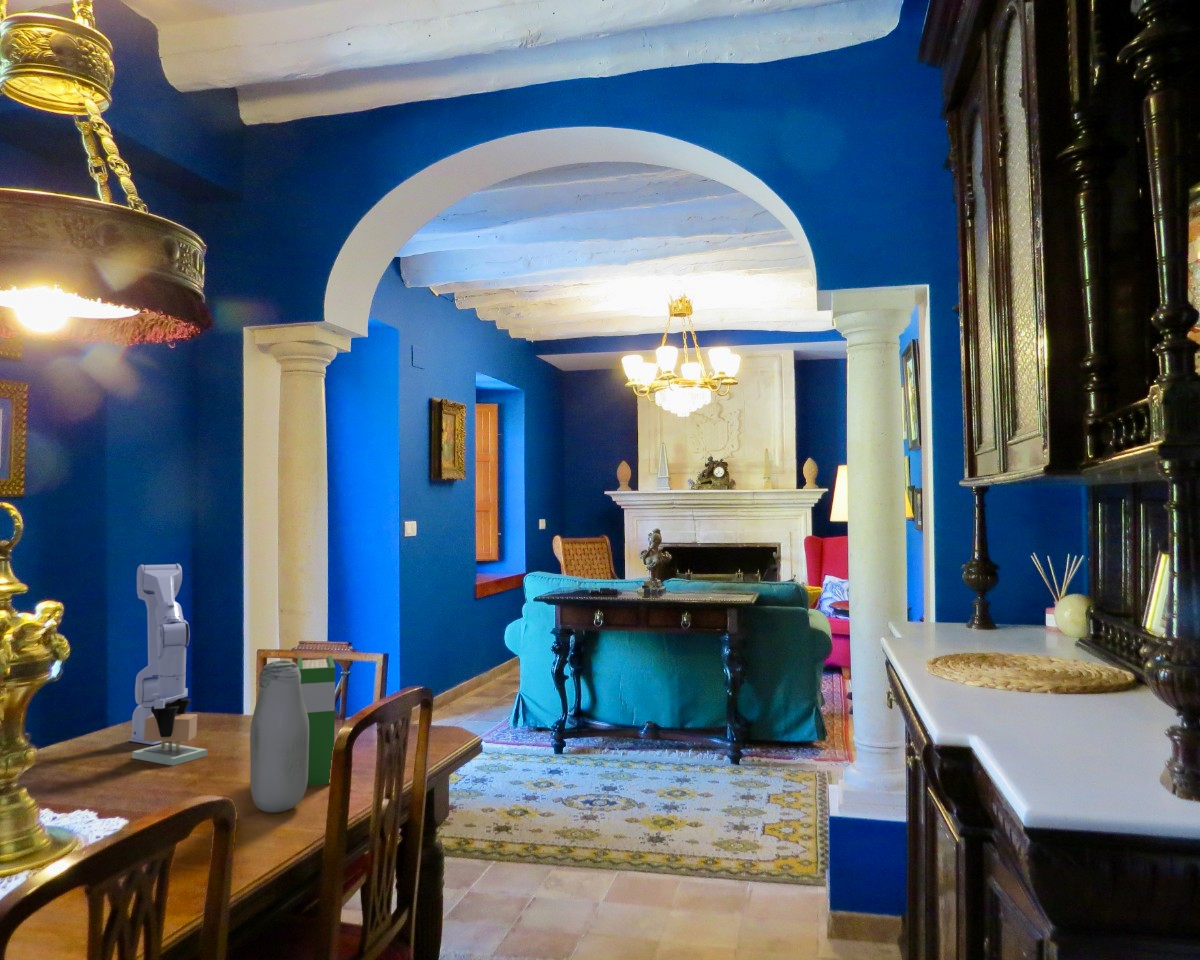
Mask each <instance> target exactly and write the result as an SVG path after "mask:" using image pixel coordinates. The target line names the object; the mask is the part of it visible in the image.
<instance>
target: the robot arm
mask: <svg viewBox="0 0 1200 960" xmlns="http://www.w3.org/2000/svg"><path fill="white" fill-rule="evenodd" d="M182 581H183V569H182V566H181V564H180V563H174V564H169V563H168V564H145V565H144V564H140V565H139V566H138V567H137V569H136V594H137V598H138V599H139V600H142V601H144V602H145V606H146V611H147V614H146V615H147V619H146V620H147V666H144V668H143V669H141V670H140V671H139V672H138V673H137V674H136V678H135V685H134V686H135V687H134V698H135V703H136V704H137V706H136V707H135V709H134V711H133V713H132V718H131V719H132V720H131V722H132V723H131V724H132V725H131V738H128V741H129V742H133V743H140V744H143V745H144V744H145V745H151V746H152V745H153V746H156V745H160V744H161V741H144V734H145V719H146V718H148V717H149V716H151V715H154V716H155V718H156V721H157V724H158V728H159V732H160V736H161V737H170V736H171V735H172V731H173V724H174V719H175V715H176V714H186V711H187V709H188V707H189V705H190V704H191V702H192V698H186V697H188V693H189V691H188V689H189V688H188V687H186V677H187V676H186V675H187V674H186V672H187V670H186V669H187V667H186V666H187V665H186V664H187V647H189V644H190V637H191V636H190V635H191V633H190V632H191V631H190V625H189V622H188V621H187V620H186V619H184V615H183V609H182V606H181V605H180V603H179V602H177V601H176V599H175V598H176V597H177V595H178V594H179V591H180V589H181V586H182ZM165 743H168V741H165Z"/></svg>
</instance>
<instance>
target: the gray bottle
mask: <svg viewBox="0 0 1200 960" xmlns="http://www.w3.org/2000/svg"><path fill="white" fill-rule="evenodd" d="M249 751H250V753H249V754H250V767H249V768H250V770H249V771H250V776H249V777H250V781H249V783H250V784H249V785H250V793H251V796H252V799H253V803H254V804H255V806H256V807H257V808H258V809H259V810H261V811H262V812H265V813H267V814H268V813H271V814H272V813H274V814H275V813H282V812H286V811H288V810H291V809H294V808H295V807H296V806H298V805H299V803H300V802H301V801H302V800H303V798H304V797H305V793H306V792H307V787H308V786H307V782H308V757H309V719H308V714H307V710H306V707H305V704H304V700H303V694H302V689H301V673H300V670H299V667H298V663H295V662H293V661H292V660H291V661H290V660H275V661H271V662H269V663H267V664H266V665H264V667H262V669H261V670H260V673H259V678H258V693H257V701H256V702H255V707H254V710H253V715H252V719H251V723H250V731H249Z"/></svg>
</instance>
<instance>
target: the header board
mask: <svg viewBox="0 0 1200 960" xmlns="http://www.w3.org/2000/svg"><path fill="white" fill-rule="evenodd" d="M180 743H181V741H175V743H173V741H167V742H165V741H161V743H160V744H156V745H153V746H150V747H145V748H142V749H137V750H134V751H132V756H131V757H132V758H131V759H133V760H135V759H136V760H140V761H147V762H151V763H157V764H162V765H167V766H177V765H180V764H184V763H187V762H191V761H196V760H198V759H201V758H205V757H208V749H207V748H200V747H195V746H188V745H183V744H180Z"/></svg>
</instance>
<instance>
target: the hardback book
mask: <svg viewBox="0 0 1200 960" xmlns="http://www.w3.org/2000/svg"><path fill="white" fill-rule="evenodd" d="M297 666H298V667H299V670H300V673H301V689H302V694H303V700H304V704H305V707H306V710H307V714H308V719H309V757H308V782H307V787H310V786H311V787H312V786H321V785H329V779H330V769H331V760H332V751H333V747H334V748H335V727H336V726H335V720H336V719H335V718H336V716H335V711H336V710H335V709H336V706H335V705H336V665H335V662H334V658H333V655H327V658H322V659H321V658H320V659H304V660H303V656H299V657H298V656H297Z"/></svg>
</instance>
